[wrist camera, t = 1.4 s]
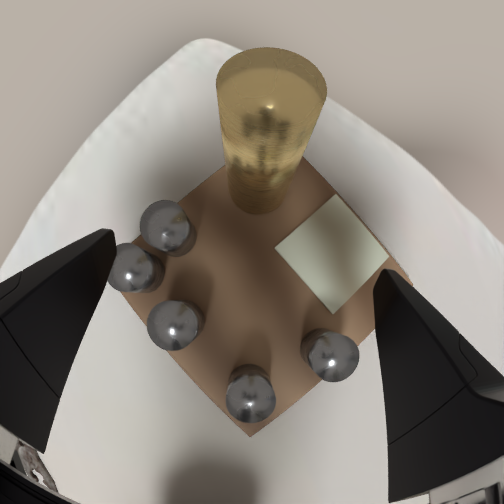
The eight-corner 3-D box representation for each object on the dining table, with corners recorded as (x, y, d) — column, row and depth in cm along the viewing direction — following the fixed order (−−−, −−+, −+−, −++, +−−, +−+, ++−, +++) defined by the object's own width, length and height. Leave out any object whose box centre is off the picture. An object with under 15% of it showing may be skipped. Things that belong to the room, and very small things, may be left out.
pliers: (8, 322, 20) (100, 503, 18) (14, 322, 21) (103, 499, 19) (-34, 346, 19) (44, 502, 17) (-29, 346, 20) (47, 499, 18)
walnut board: (249, 431, 20) (250, 438, 19) (109, 269, 22) (102, 268, 21) (407, 285, 22) (415, 284, 21) (273, 134, 24) (274, 127, 23)
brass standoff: (254, 226, 22) (269, 146, 10) (216, 183, 22) (193, 78, 10) (298, 190, 22) (348, 92, 10) (260, 150, 23) (274, 36, 11)
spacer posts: (255, 425, 19) (258, 450, 16) (116, 265, 21) (92, 258, 17) (347, 348, 21) (368, 357, 17) (205, 187, 22) (198, 165, 18)
